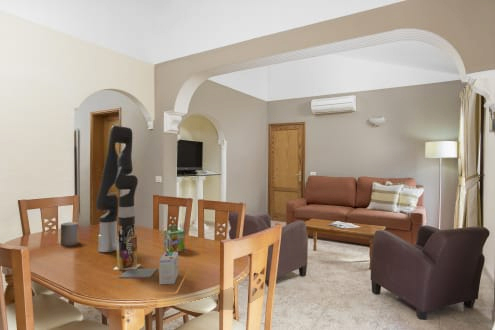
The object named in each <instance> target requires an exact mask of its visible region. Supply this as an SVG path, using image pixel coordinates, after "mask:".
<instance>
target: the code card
mask: <svg viewBox="0 0 495 330" xmlns="http://www.w3.org/2000/svg"><path fill="white" fill-rule="evenodd" d="M140 266H141V264H139V263H137V266H133V267H129V268H125V269H121V271H122V270H124V271H126V270H127V269H139V267H140ZM112 270H113V271H118V270H119V269H118V268H117V266H115V267H114V268H113V269H112ZM119 271H120V270H119Z"/></svg>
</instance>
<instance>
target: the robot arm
mask: <svg viewBox="0 0 495 330" xmlns="http://www.w3.org/2000/svg"><path fill="white" fill-rule="evenodd" d="M116 143H117V144H125V147H124V148H123V149H122V151H121V152H120V153H119V154H118V152H117V149H116V145H117V144H116ZM107 144H108V146H107V152H106V157H105V161H104V165H103V166H104V167H103V171H102V177H101V182H100V185H99V190H98V194H97V196H96V200H95V201H96V202H95V204H96V205H95V206H96V208H97V210H98V211H107V212H106V213H104V214H102V215H101V216H100V217H99V234H98V236H97V239H98V240H97V245H98V247H97V249H98V251H97V252H99V253H112V252H114V251H115V252H116V251H117V246H116V237H119V243H121V251H125V250H126V241H127V239H128V236H129V235H133V234H134V235H135V224H136V219H135V218H136V215H135V214H136V213H135V209H136V208H135V195H136V190H137V186H138V183H139V180H138V177H137V176H136V175H134V174H133V175H132V173H133V161H132V155H133V154H132V150H133V130H132V128H130V127H128V126H127V127H126V126H120V125H112V126H111V128H110V130H109V137H108V143H107ZM112 186H114V187H115V189H117V190H118V191H121V190H122V191H123V190H124V191H125V190H129V191H128V192H126V193H123V194H121V195H119V198H118V196H117V194H115V193H109V191H110V189H111V188H112ZM117 222H118V224H117ZM118 226H120V227H121V229H120V230H118V228H117V227H118Z"/></svg>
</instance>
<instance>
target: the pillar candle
mask: <svg viewBox="0 0 495 330" xmlns="http://www.w3.org/2000/svg"><path fill="white" fill-rule="evenodd" d="M78 244H79V222H78V221H77V222H74V221H73V222H72V221H71V222H70V221H68V222H64V223H61V224H60V246H64V247H66V246H67V247H68V246H74V245H78Z"/></svg>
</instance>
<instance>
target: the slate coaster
mask: <svg viewBox="0 0 495 330" xmlns="http://www.w3.org/2000/svg"><path fill="white" fill-rule="evenodd" d="M157 271H158V269H157V268H137V269H127V270H124V271H123V273H121V274H120V276H119V278H118V279H123V278H124V279H126V278H127V279H130V278H131V279H134V278H135V279H138V278H139V279H147V278H149V279H151V278H152V276H154V274H155V273H156V272H157Z"/></svg>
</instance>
